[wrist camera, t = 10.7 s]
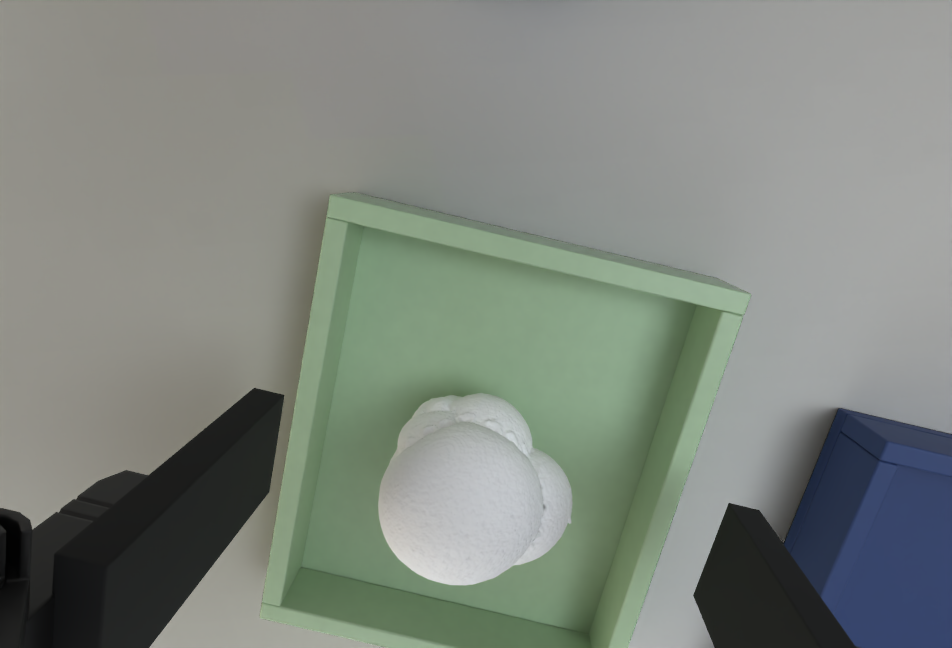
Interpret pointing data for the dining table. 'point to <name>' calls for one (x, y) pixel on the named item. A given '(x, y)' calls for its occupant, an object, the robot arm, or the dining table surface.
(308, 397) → the pale tray
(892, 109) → the dining table surface
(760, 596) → the robot arm
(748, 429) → the dining table surface
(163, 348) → the dining table surface
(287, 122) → the dining table surface
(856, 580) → the blue tray
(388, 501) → the microfossil shell
